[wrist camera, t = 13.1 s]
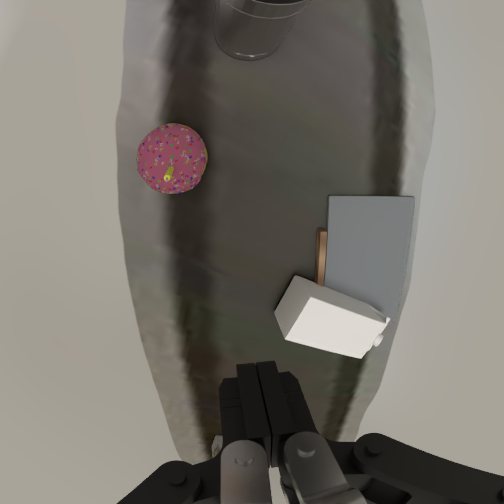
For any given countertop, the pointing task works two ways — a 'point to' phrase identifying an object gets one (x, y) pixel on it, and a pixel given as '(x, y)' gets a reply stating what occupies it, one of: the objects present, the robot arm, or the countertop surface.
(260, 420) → the robot arm
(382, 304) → the mat
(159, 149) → the cupcake
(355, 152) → the countertop surface
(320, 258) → the strip
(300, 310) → the milk carton
